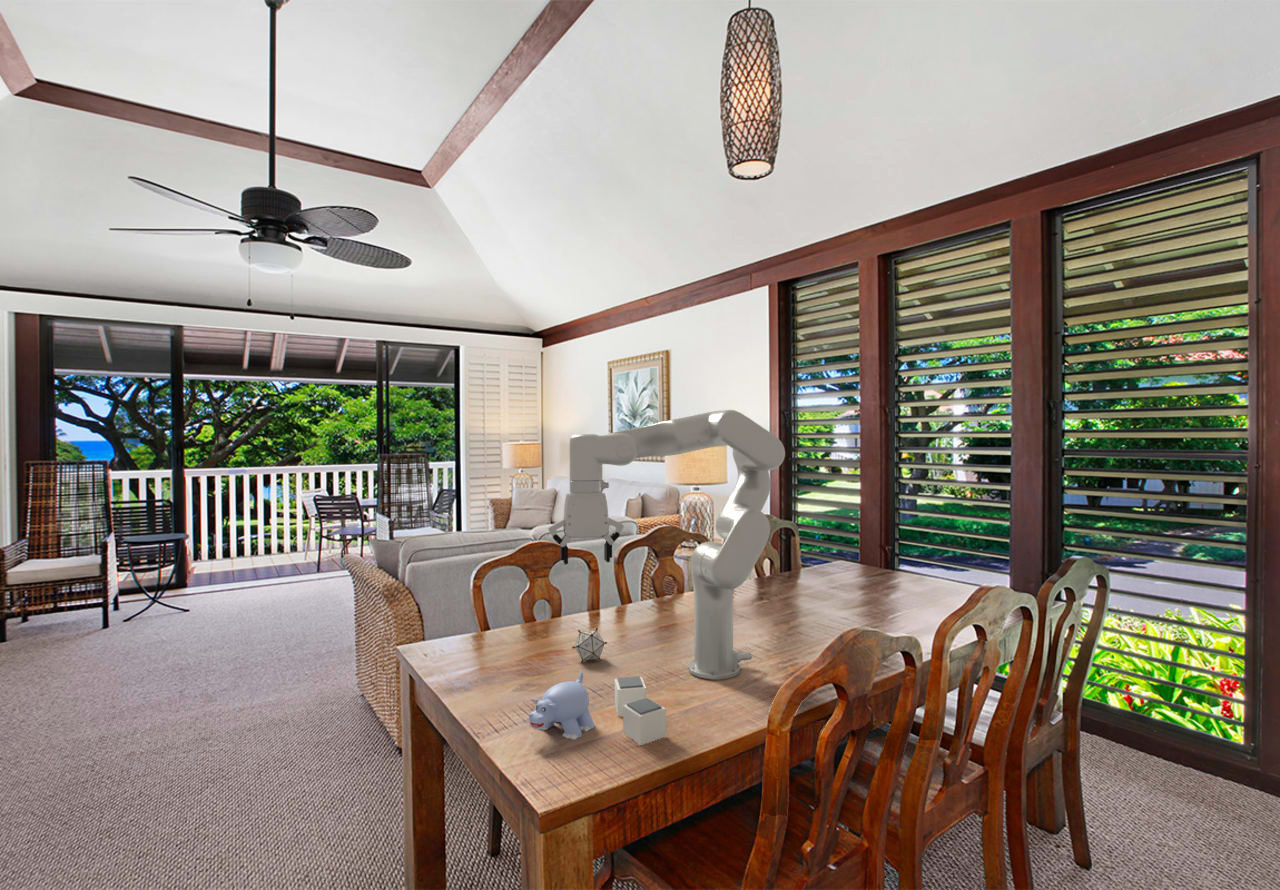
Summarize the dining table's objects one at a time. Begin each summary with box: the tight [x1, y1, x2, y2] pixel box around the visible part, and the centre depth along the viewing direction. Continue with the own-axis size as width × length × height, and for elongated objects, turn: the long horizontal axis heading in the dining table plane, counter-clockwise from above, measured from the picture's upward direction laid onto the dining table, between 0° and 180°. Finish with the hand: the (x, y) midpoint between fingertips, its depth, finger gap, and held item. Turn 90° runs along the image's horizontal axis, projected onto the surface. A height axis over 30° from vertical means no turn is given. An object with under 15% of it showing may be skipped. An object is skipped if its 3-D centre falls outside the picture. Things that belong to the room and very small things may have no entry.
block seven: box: [622, 697, 667, 746], centre depth 121 cm, size 6×6×6 cm
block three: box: [613, 675, 647, 717], centre depth 133 cm, size 6×6×6 cm
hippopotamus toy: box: [528, 669, 596, 741], centre depth 124 cm, size 11×15×10 cm
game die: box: [571, 627, 608, 664], centre depth 162 cm, size 9×8×10 cm
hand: (586, 562), depth 143 cm, fingers open, 9 cm apart
